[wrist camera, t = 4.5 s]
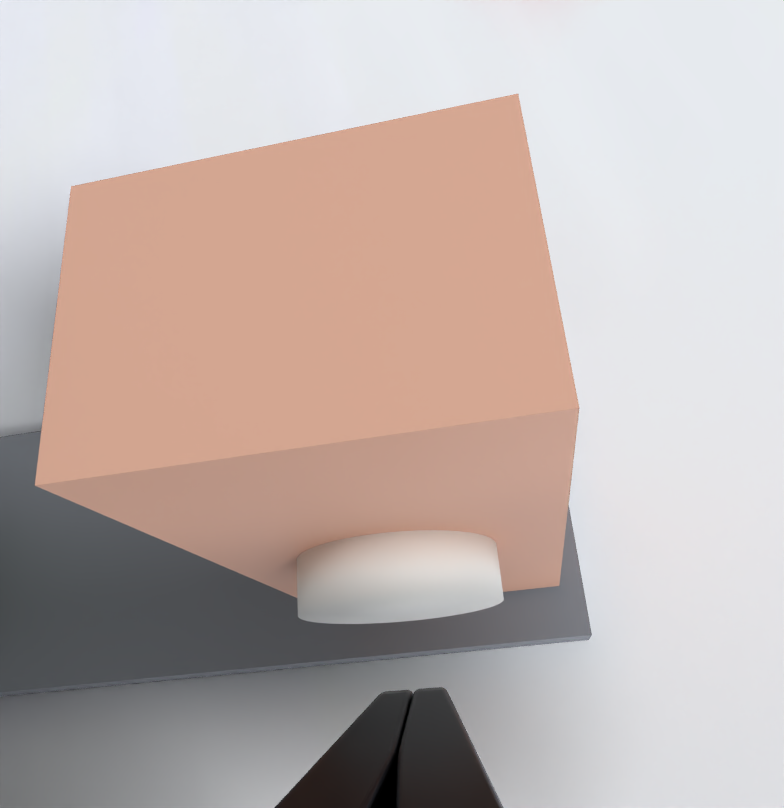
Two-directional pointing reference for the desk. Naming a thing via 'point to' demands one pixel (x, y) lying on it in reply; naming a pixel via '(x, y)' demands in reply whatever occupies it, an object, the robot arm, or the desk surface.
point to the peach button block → (325, 365)
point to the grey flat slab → (197, 604)
